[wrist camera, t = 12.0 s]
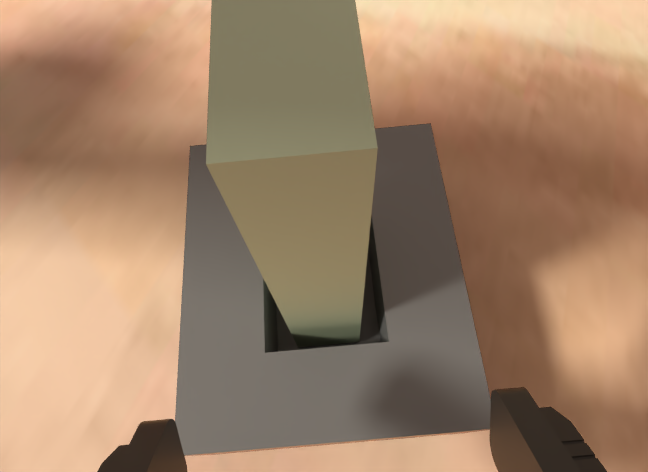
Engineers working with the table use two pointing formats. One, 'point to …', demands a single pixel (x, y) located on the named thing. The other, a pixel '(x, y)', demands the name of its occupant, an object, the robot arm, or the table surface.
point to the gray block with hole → (335, 359)
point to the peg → (296, 154)
